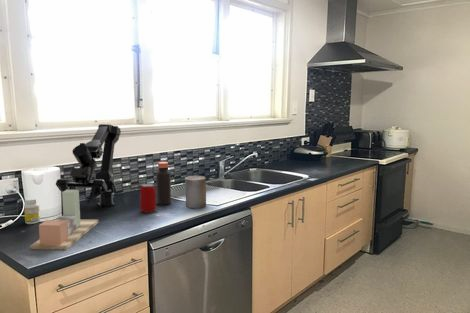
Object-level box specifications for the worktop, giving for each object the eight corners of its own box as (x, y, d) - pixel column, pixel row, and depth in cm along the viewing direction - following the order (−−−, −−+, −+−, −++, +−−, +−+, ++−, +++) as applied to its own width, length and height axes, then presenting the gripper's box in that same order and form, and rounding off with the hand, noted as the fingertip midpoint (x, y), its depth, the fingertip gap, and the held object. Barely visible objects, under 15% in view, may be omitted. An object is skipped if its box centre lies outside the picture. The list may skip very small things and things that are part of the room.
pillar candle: (203, 202, 182) (202, 172, 180) (208, 207, 173) (208, 176, 171) (183, 204, 178) (182, 173, 176) (188, 209, 169) (187, 177, 167)
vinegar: (173, 203, 179) (173, 162, 177) (162, 206, 174) (161, 164, 172) (165, 200, 184) (164, 161, 181) (153, 203, 179) (153, 162, 176)
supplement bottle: (35, 224, 147) (34, 200, 145) (22, 224, 147) (20, 200, 145) (42, 220, 152) (41, 197, 151) (29, 219, 152) (28, 197, 151)
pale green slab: (69, 224, 142) (67, 189, 140) (80, 225, 142) (78, 189, 140) (46, 241, 125) (43, 201, 123) (59, 241, 125) (56, 201, 123)
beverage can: (149, 207, 171) (149, 182, 170) (159, 210, 167) (158, 184, 165) (137, 211, 166) (136, 184, 164) (146, 214, 162) (146, 187, 160)
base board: (69, 222, 150) (68, 205, 149) (98, 222, 150) (97, 206, 149) (30, 249, 122) (28, 229, 121) (66, 249, 122) (65, 229, 121)
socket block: (47, 238, 128) (46, 220, 127) (67, 238, 128) (66, 220, 127) (40, 244, 123) (38, 225, 123) (60, 244, 123) (59, 225, 122)
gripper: (56, 159, 145) (43, 193, 136) (103, 159, 145) (93, 194, 136) (66, 174, 155) (55, 207, 145) (111, 175, 154) (102, 208, 145)
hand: (76, 204), depth 143 cm, fingers open, 9 cm apart
